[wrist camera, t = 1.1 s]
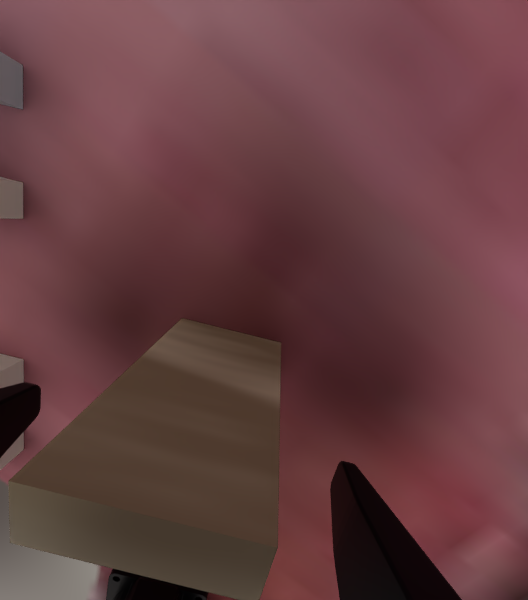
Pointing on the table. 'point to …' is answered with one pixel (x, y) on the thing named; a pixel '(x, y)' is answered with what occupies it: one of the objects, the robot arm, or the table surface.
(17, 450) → the domino
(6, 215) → the domino
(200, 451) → the domino
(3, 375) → the domino
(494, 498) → the table surface
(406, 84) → the table surface
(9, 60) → the domino
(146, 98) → the table surface
